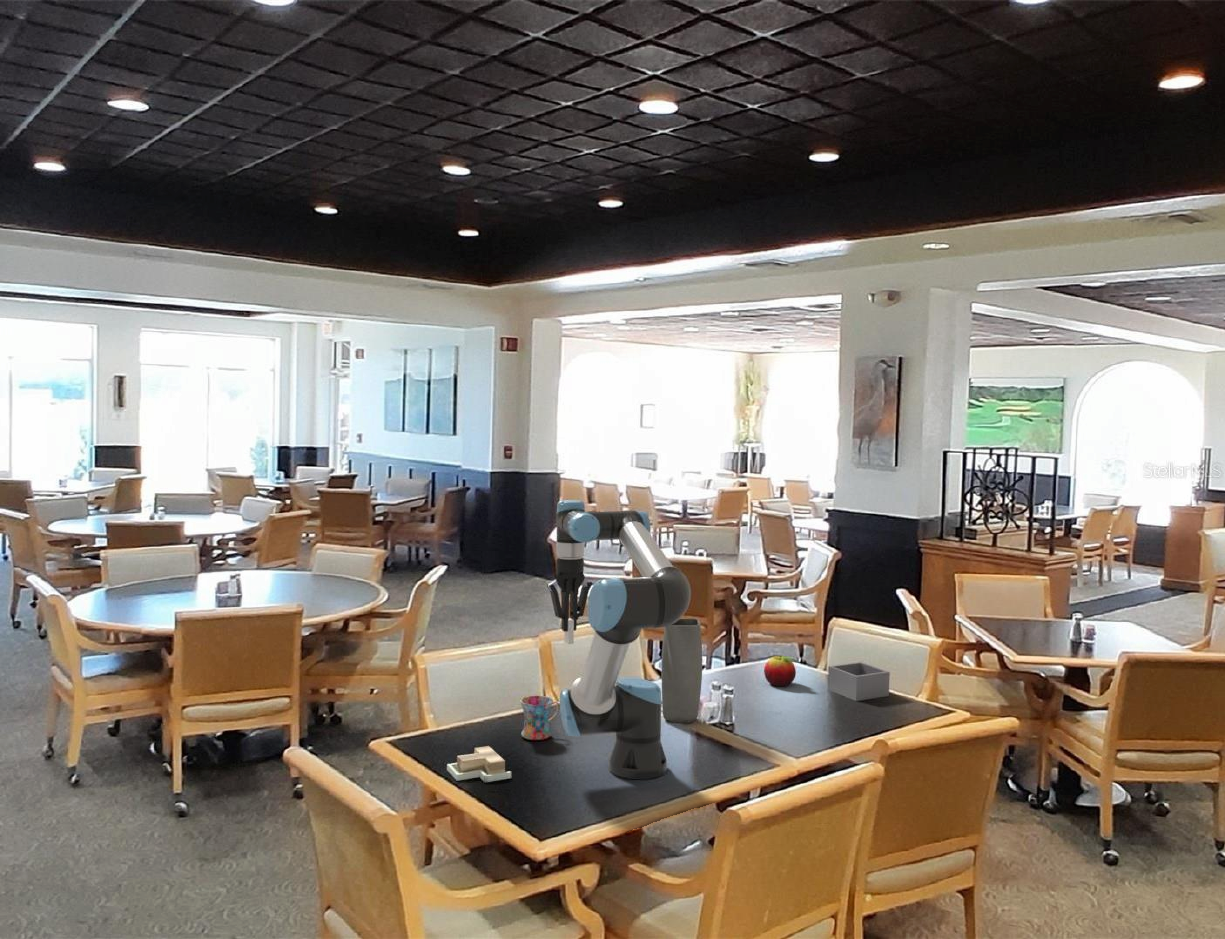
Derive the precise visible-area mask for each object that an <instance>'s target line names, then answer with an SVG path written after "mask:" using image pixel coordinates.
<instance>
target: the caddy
mask: <svg viewBox="0 0 1225 939" xmlns="http://www.w3.org/2000/svg"><path fill="white" fill-rule="evenodd" d="M827 667H828V670H827V671H828V673H827V690H828V691H830V692H833V693H835V694H837V695H840V696H843V697H845V698H847V699H849V700H853V701H854V702H858V701H859V702H860V701H864V700H866V701H867V700H871V699H877V698H884V697H889V696H890V676H891V675H890V673H891V672H890V671H888V670H886V669H882V668H880V667H877V666H873V665H870V664H868V663H865V662H862V661H858V662H850V663H843V664H834V665H828V666H827Z"/></svg>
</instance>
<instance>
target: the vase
mask: <svg viewBox="0 0 1225 939" xmlns="http://www.w3.org/2000/svg"><path fill="white" fill-rule="evenodd" d="M702 640H703V639H702V632H701V622H700V619H697V618H686V617H685V618H682V617H681V618H680V619H679V620H678V621H676V622H675V623H673V624H671V625H669V626H666V627H664V632H663V638H662V646H661V648H662V649H661V664H660V665H661V670H660V671H661V673H660V674H661V676H660V677H661V701H662V704H661V713H662V716H663V719H664V720H666V721H668V722H673V723H682V724H683V723H686V724H687V723H692V722H693V721H695V720H696V719H697V718H698V717H699V716H698V715H699V709H700V702H701V693H702V683H703V682H702V680H703V643H702Z"/></svg>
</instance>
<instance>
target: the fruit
mask: <svg viewBox="0 0 1225 939" xmlns="http://www.w3.org/2000/svg"><path fill="white" fill-rule="evenodd" d="M793 661H794V660H793V658H791V657H789V656H783V655H781V654H780V655H779V656H777V655H776V656H772V657H771V658H769V659H768V661H767V662H765V666H764V669H763V673H764V677H765V680H766V681H767V682H768V683H769V684H770V685H771V686H775V687H787V686H790V685H791V684H792V683H793V682H794V680H795V679H796V674H797V671H796V666H795V665H794V662H793Z"/></svg>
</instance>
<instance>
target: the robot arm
mask: <svg viewBox="0 0 1225 939" xmlns="http://www.w3.org/2000/svg"><path fill="white" fill-rule="evenodd" d="M555 515H556V546H555V548H556V556H557V557H556V560H555V571H556V574H555V576H554V580H552V582H550V583H549V582H548V583H546V588H547V589H548V590H549V592H550V598H551V602H552V605H553V606H552V607H553V610H554V612H553V613H554V615H555V617H556V618H559V619H561V631H562V632H564V643H566V644H567V645H571V644H573V645H574V637H575V636H574V635H575V634H574V633H575V632H574V631H576V630H577V627H578V626H577V624H578V622H577V620H579V618H580V617H583V616H584V613H585V609H587V611H586V612H587V619H588V623H589V625H590V627H591V629H593V631H594V633H593V637H592V640H591V643H590V647H589V651H588V652H587V657H586V659H585V663H584V667H583V669H582V672H581V675H580V677H578V678H577V679H575V680H574V682H573V683H572V685H571V688H570V689H569V688H566V689H563V690H561V691H560V693H559V705H560V709H559V711H560V717H561V722H562V723H561V724H562V727H563V729H564V732H565V734H566V735H567V736H568V737H569V736H570V737H580V738H581V737H584V736H586V737H587V736H595V735H605V734H615V741H614V744H613V747H612V750H611V753H610V756H609V759H608V770H609V772H610V773H611V774H613V775H615V776H617V777H621V778H623V779H630V780H650V779H655V778H659V777H661V776H663V775H665V773H666V772H667V769H668V768H667V767H668V763H667V757H666V754H665V750H664V747H663V743H662V741H661V738H662V737H661V736H662V731H661V730H662V688H661V687H660V686H659V685H658V684H657V683H655V682H653V681H650V680H647V679H643V678H638V677H628V676H627V677H620V678H619V675H620V672H621V669H622V667H623V663H624V661H625V658H626V655H627V652H628V649H629V646H630V644H632V643H633V642H635V641H637V639H638V638H639V636H640V634H641V632H642V630H646V629H658V628H665V627H666V626H669V625H671V624H673V623H675V622H676V621H678V620H679V619H680V618H681V619H682V617H683V616H684V615H685V613H686V612H687V610H688V608H689V605H690V603H691V602H690V601H691V597H692V596H691V594H692V590H691V585H690V583H689V580H688V578H687V577H686V575H685V574H684V573H683V571H682V570H681V569H680V568H678V567H676V566H674V565H673V564H672V563H671V562H670V560H669V558H668V557H667V556H666V555H665V553H664V551H663V550H662V549H661V547H660V545H659V544H657V542H656V540H655V538H654V537H653V536H652V535H651V534H650V533H651V520H650V517H649V514H648V513H647V512H646V511H643V510H633V509H632V510H620V511H619V510H617V511H616V510H615V511H606V510H605V511H586V508H585V502H584V501H583V500H577V499H576V500H575V499H573V500H572V499H566V500H560V501H558V502H557V505H556V512H555ZM605 540H606V541H609V540H610V541H611V540H612V541H613V540H614V541H616V540H617V541H618V540H619V542H620V543H621V544H622V546H623V548H624V549H625V551H626V552H627V554H628V556H629V558H630V559H631V561H632V562H633V563H634V565H635V567H636V569H637V570H638V572H639V574H641V576H642V577H641V576H640V577H625V578H624V577H623V578H621V577H620V578H619V577H611V578H605V579H600V580H597V581H596V582H595V583H594V584H593V582H592V581H590V580H587V578H586V576H585V574H584V571H585V570H584V568H585V567H584V566H585V563H584V562H585V560H584V558H583V557H584V556H585V543H591V542H592V541H605ZM558 587H559V589H560V596H561V597H560V596H559V591H558ZM580 587H581V588H580ZM579 588H580V589H579ZM579 590H580V592H579ZM578 595H579V596H578ZM560 598H561V602H560ZM587 602H588V604H587ZM586 604H587V607H586Z"/></svg>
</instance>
